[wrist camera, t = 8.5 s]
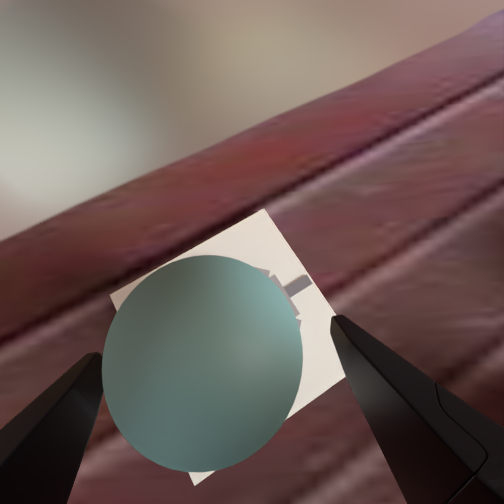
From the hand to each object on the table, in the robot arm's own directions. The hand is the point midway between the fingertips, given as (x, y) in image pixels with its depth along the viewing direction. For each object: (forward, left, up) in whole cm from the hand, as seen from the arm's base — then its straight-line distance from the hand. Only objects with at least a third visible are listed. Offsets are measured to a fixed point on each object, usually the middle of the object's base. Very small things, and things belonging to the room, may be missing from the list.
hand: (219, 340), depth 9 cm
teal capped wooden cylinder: (0, 0, -8) cm, 8 cm away
